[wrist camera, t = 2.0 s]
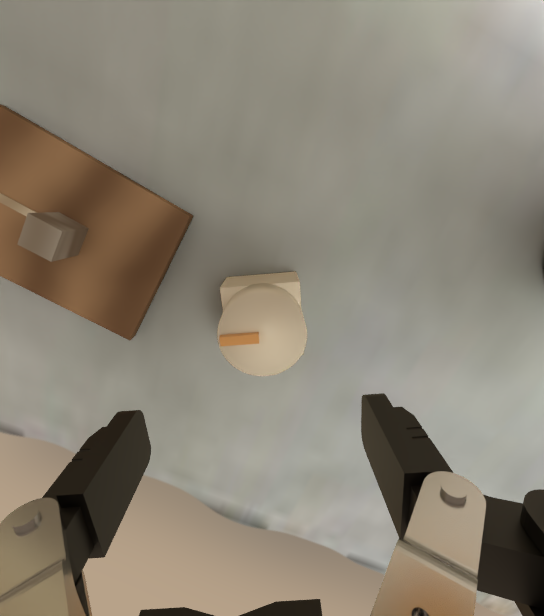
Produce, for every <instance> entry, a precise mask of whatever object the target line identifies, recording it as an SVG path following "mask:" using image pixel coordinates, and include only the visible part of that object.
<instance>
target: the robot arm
mask: <svg viewBox="0 0 544 616" xmlns="http://www.w3.org/2000/svg"><path fill="white" fill-rule="evenodd" d="M361 433H362V441H363V445H364V449H365V452H366V454H367V457H368V459H369V462H370V464H371V467H372V469H373V472H374V475H375V477H376V480H377V482H378V485H379V487H380V490H381V492H382V495H383V498H384V500H385V503H386V505H387V508H388V510H389V513H390V515H391V518H392V521H393V523H394V526H395V528H396V531H397V533H398V536H399V539H398V541H397V543H396V546H395V548H394V551H393V554H392V557H391V559H390V562H389V565H388V568H387V570H386V573H385V576H384V579H383V582H382V584H381V587H380V590H379V593H378V595H377V598H376V601H375V604H374V606H373V609H372V612H371V615H370V616H474V609H475V601H476V593H477V590H478V591H481V592H485V593H488V594H492V595H495V596H499V597H502V598H505V599H509V600H512V601H515V603H516V605H517V607H518V608H519V610H520V612H521V614H522V615H523V616H544V490H533V491H530V492H528V493H527V494H526V495H525V498H524V502H523V504H522V503H517V502H512V501H507V500H502V499H497V498H493V497H489V496H486V495H483V494H482V492H481V491H480V490H479V488H478V487H477V486H476V485H475V484H473V483H472V482H471V481H469V480H468V479H466V478H464V477H462V476H460V475H458V474H455V473H453V471H452V470H451V469H450V467H449V466H448V464H447V463H446V461H445V460H444V458H443V457H442V455H441V454H440V453H439V451H438V450H437V448H436V447H435V445H434V444H433V442H432V441H431V440H430V438H428V435H427V434H426V432H425V431H424V429H422V426H421V425H420V424H419V422H418V421H417V419H416V418H415V416H414V415H412V414H411V413H410V412H408V411H407V410H405V409H404V408H403V407H393V406H392V405H391V403H390V401H389V400H388V398H387V396H386V395H385V394H384V393H383V394H369V395H363V396H362V417H361ZM150 455H151V445H150V441H149V436H148V432H147V428H146V424H145V419H144V415H143V413H142V411H140V410H135V411H121V412H118V413H116V415H115V416H114V417H113V419H112V420H111V421H110V423H109V424H108V425H107V427H102V428H101V429H99V430H98V431H97V432H96V433H94V434H93V435H92V436H90V437H89V438H88V439H87V441H86V442H85V443H84V445H83V446H82V447H81V448H80V451H79V452H77V454H76V455H75V456H74V457H73V459H72V462H70V463H69V464H68V465H67V466H66V468H65V469H64V470H63V472H62V473H61V474H60V476H59V477H58V478H57V479H56V481H55V482H54V483H53V484H52V486H51V487H50V488H49V490H48V491H47V492H46V493H45V495H44V496H43V497H42V498H40V499H36V500H33V501H31V502H28V503H26V504H24V505H22V506H20V507H19V508H17V509H16V510H14V511H13V512H12V513H10V514H9V515H8V516H7V517H6V518H5V519H4V520H3V521H2V522H1V523H0V616H92V612H91V607H90V602H89V596H88V591H87V586H86V581H85V575H84V573H83V570H82V569H83V568H84V566H85V563H86V562H87V560H88V558H101V557H105V555H106V553H107V551H108V549H109V546H110V544H111V542H112V540H113V538H114V536H115V534H116V532H117V529H118V527H119V525H120V523H121V521H122V519H123V517H124V514H125V512H126V510H127V508H128V506H129V504H130V502H131V500H132V497H133V495H134V493H135V491H136V489H137V487H138V485H139V482H140V480H141V478H142V476H143V474H144V472H145V470H146V468H147V465H148V463H149V460H150ZM139 616H214V615H210V614H206V613H203V612H199V611H196V610H192V609H189V608H185V607H183V608H167V609H150V610H141V612H140V615H139ZM240 616H322V611H321V603H320V599H313V600H297V601H281V602H274V603H272V604H269V605H266V606H263V607H261V608H258V609H255V610H253V611H250V612H248V613H245V614H242V615H240Z"/></svg>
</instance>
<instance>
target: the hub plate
mask: <svg viewBox="0 0 544 616" xmlns="http://www.w3.org/2000/svg"><path fill="white" fill-rule="evenodd" d="M192 218H193V215H191V214H190V213H188V212H186V211H184V210H183V209H181V208H179V207H178V206H176V205H174V204H172V203H171V202H169V201H167V200H165V199H164V198H162V197H160V196H159V195H157V194H155V193H153V192H152V191H150V190H148V189H147V188H145V187H143V186H141V185H140V184H138V183H136V182H135V181H133V180H131V179H129V178H128V177H126V176H124V175H122V174H121V173H119V172H117V171H116V170H114V169H112V168H110V167H109V166H107V165H105V164H104V163H102V162H100V161H98V160H97V159H95V158H93V157H92V156H90V155H88V154H86V153H85V152H83V151H81V150H80V149H78V148H76V147H74V146H73V145H71V144H69V143H67V142H66V141H64V140H62V139H61V138H59V137H57V136H55V135H54V134H52V133H50V132H49V131H47V130H45V129H43V128H42V127H40V126H38V125H37V124H35V123H33V122H31V121H30V120H28V119H26V118H24V117H23V116H21V115H19V114H18V113H16V112H14V111H12V110H11V109H9V108H7V107H6V106H3V105H1V104H0V276H2V277H4V278H6V279H8V280H10V281H12V282H14V283H16V284H18V285H20V286H22V287H24V288H26V289H28V290H30V291H32V292H34V293H36V294H38V295H40V296H42V297H44V298H46V299H48V300H50V301H52V302H54V303H56V304H58V305H60V306H62V307H64V308H66V309H68V310H70V311H72V312H74V313H76V314H78V315H80V316H82V317H84V318H86V319H88V320H90V321H92V322H94V323H96V324H98V325H100V326H102V327H104V328H106V329H108V330H110V331H112V332H114V333H116V334H118V335H120V336H122V337H124V338H126V339H128V340H131V339H132V338H133V337H134V336H135V335H136V333H137V331H138V329H139V327H140V325H141V323H142V321H143V319H144V317H145V314H146V312H147V310H148V308H149V306H150V304H151V302H152V300H153V298H154V296H155V294H156V292H157V290H158V288H159V286H160V284H161V282H162V280H163V278H164V276H165V274H166V272H167V269H168V267H169V265H170V263H171V261H172V259H173V257H174V255H175V253H176V251H177V249H178V247H179V245H180V243H181V241H182V239H183V237H184V235H185V233H186V231H187V229H188V227H189V224H190V222H191V220H192Z"/></svg>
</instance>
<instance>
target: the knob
mask: <svg viewBox="0 0 544 616" xmlns="http://www.w3.org/2000/svg"><path fill="white" fill-rule="evenodd" d="M220 294H221V301H222V308H223V314H222V316H221V319H220V321H219V325H218V330H217V338H218V344H219V347H220V350H221V352H222V354H223V355H224V357H225V358H226V359H227V361H228V362H229V363H230V364H231V365H233V366H234V367H235V368H237V369H238V370H240V371H242V372H244V373H247V374H250V375H255V376H270V375H275V374H278V373H281V372H283V371H285V370H287V369H288V368H290V367H291V366H292V365H294V364H295V363H296V362H297V360H298V359H299V358H300V356H301V355H304V349H305V346H306V341H307V328H306V324H305V320H304V317H303V313H302V310H301V296H300V281H299V278H298V276H297V273H296V271H295V272H283V273H271V274H259V275H247V276H234V277H227V278H226V279H225V281H224V282H223V284H222V285H221V287H220Z"/></svg>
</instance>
